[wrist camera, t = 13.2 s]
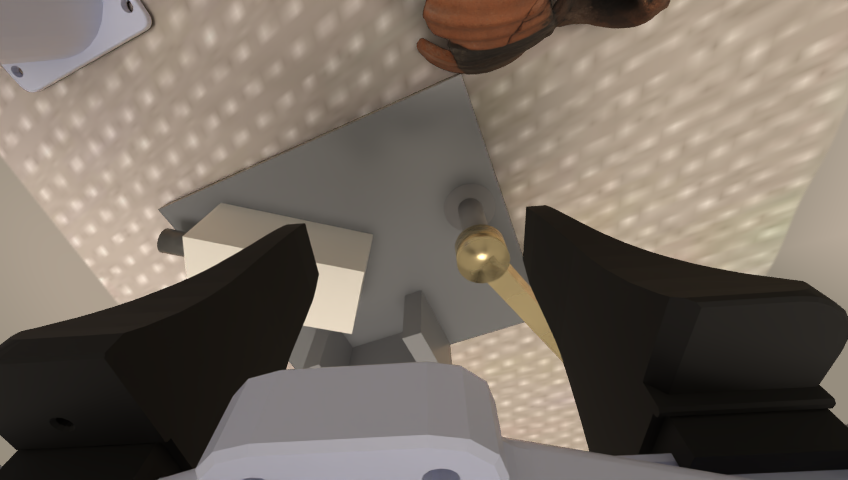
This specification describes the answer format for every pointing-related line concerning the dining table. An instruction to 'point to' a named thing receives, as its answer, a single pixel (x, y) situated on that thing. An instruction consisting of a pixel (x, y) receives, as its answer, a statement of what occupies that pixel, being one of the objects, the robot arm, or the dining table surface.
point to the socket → (388, 224)
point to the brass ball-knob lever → (500, 276)
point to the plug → (240, 227)
